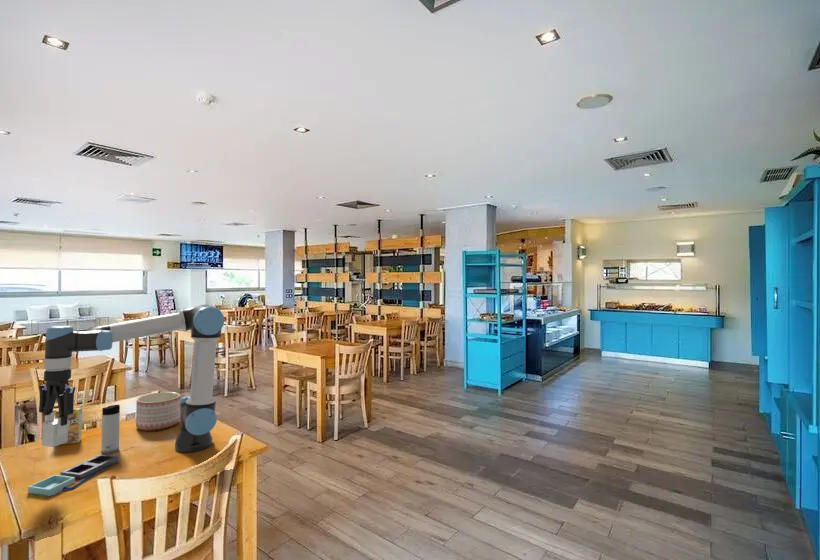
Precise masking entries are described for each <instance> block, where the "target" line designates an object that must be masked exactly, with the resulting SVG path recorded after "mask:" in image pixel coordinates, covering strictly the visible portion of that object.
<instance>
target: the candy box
mask: <svg viewBox="0 0 820 560" xmlns="http://www.w3.org/2000/svg"><path fill="white" fill-rule="evenodd" d="M63 413H64V412H63ZM57 416H60V415H59V408H58V409H57V410H56V411H55V413H54V420H55V419H57V418H58V417H57ZM82 423H83V407H81V406H80V407H73V414H70V415H68V441H67V442H66V443H63V444H62V445H67V444H78V443H80V442H81V440H82V429H83V428H82V426H83V424H82Z"/></svg>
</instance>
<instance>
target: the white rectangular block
mask: <svg viewBox="0 0 820 560" xmlns="http://www.w3.org/2000/svg"><path fill="white" fill-rule="evenodd" d="M41 435H42V436H41V437H42V438H41V446H44V447H49V448H54V447H57V446H60V445H64V444H63V443H66V442H67V441H68V420H67V426H66V433H65V434H62V435H59V436H58V435H57V419H55V418H54V420H51V421H48V422H45V423H44V422H42V433H41Z"/></svg>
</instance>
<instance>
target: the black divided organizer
mask: <svg viewBox="0 0 820 560" xmlns="http://www.w3.org/2000/svg"><path fill="white" fill-rule="evenodd" d="M117 464H119V456H117V455H108V454H102V453H101V454H98V455H96V456H93V457H92V458H89V459H87V460H85V461H83V462H80V463H78V464H75V465H73V466H72V467H69V468H65V470H62V471H60V474H59V475H61V476H69V477H75V479H77V480H81V479H83V478H85V477H87V476H90V475H92V474H94V473H96V472H98V473H97V474H99V473H100V472H103V471H105V470H107V469H108V468H111V467H113V466H115V465H117ZM81 470H85V471H83V472H81V473H77V472H79V471H81Z"/></svg>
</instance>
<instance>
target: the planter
mask: <svg viewBox="0 0 820 560" xmlns="http://www.w3.org/2000/svg"><path fill="white" fill-rule="evenodd" d="M180 400H181V394H180V393H179V392H175V391H160V393H159V392H153V393H148V394H144V395H142V396H139V397H138V398H136V403H135V404H136V405H135V406H136V408H135V410H136V412H135V428H137V429H139V430H141V431H145V432H155V430H157V431H162V430H161V429H163V430H166V429H165V428H167V429H169V428H168V427H170V428H171V426H172V427H174V426H175V425H177V424H178V423H180ZM174 424H175V425H174ZM173 425H174V426H173Z"/></svg>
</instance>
